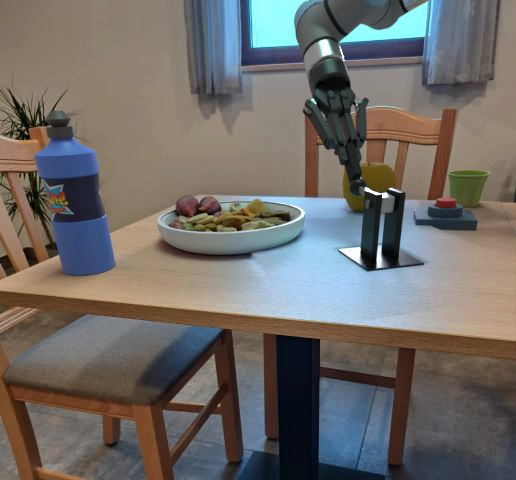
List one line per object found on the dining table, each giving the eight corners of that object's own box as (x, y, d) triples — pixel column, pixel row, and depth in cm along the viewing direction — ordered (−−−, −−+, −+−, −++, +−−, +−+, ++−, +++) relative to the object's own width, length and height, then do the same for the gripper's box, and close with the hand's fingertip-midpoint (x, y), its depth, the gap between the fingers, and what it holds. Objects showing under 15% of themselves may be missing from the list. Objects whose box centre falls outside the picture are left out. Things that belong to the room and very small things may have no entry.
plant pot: (467, 215, 107) (474, 176, 103) (434, 209, 115) (439, 172, 110) (491, 210, 112) (499, 172, 108) (457, 204, 119) (463, 168, 115)
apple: (348, 203, 125) (351, 158, 119) (397, 206, 119) (402, 159, 114) (334, 213, 114) (336, 164, 109) (386, 216, 109) (391, 165, 104)
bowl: (329, 230, 100) (330, 192, 96) (251, 269, 78) (249, 223, 74) (219, 217, 115) (217, 184, 111) (128, 247, 93) (122, 207, 89)
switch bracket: (337, 255, 84) (340, 187, 78) (388, 250, 85) (394, 183, 80) (366, 276, 73) (372, 200, 68) (423, 270, 75) (434, 195, 70)
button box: (468, 220, 104) (472, 201, 102) (475, 231, 95) (479, 211, 93) (413, 218, 107) (415, 201, 105) (415, 229, 98) (417, 210, 96)
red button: (454, 206, 101) (455, 197, 100) (456, 209, 97) (457, 201, 96) (434, 205, 101) (435, 197, 101) (436, 209, 98) (437, 201, 97)
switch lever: (345, 194, 85) (347, 176, 83) (361, 193, 85) (363, 175, 84) (377, 216, 74) (379, 195, 72) (395, 214, 75) (398, 194, 73)
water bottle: (83, 279, 77) (46, 111, 65) (51, 270, 82) (11, 112, 70) (127, 264, 83) (100, 108, 72) (94, 256, 88) (64, 110, 77)
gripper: (351, 89, 94) (380, 188, 88) (290, 90, 92) (315, 193, 85) (365, 56, 87) (397, 162, 81) (299, 57, 84) (327, 166, 78)
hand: (355, 178), depth 83 cm, fingers closed
